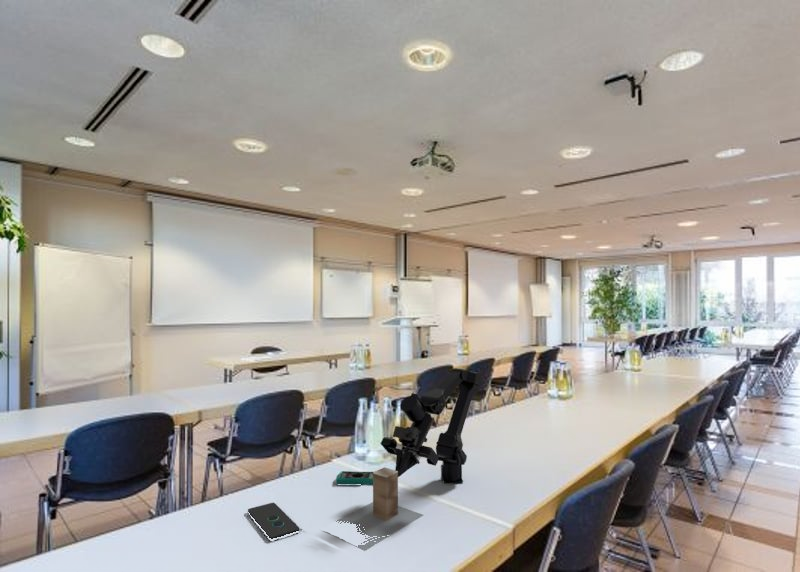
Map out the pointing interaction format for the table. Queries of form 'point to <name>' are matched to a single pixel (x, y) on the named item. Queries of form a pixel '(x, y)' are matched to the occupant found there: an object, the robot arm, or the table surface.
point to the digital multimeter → (355, 477)
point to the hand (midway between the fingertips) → (396, 476)
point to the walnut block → (385, 493)
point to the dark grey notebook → (273, 520)
